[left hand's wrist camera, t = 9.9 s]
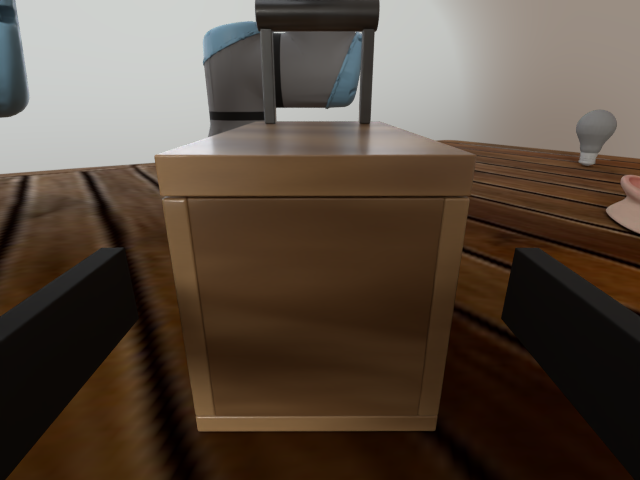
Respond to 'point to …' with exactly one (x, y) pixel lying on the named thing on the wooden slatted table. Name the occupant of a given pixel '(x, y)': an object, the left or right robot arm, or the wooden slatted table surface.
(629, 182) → the anatomical model
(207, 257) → the chest
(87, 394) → the wooden slatted table surface
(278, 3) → the lid
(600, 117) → the light bulb
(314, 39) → the right robot arm
